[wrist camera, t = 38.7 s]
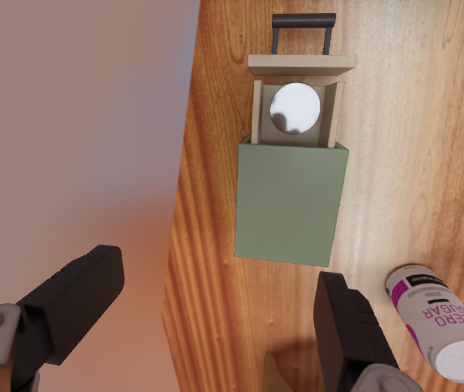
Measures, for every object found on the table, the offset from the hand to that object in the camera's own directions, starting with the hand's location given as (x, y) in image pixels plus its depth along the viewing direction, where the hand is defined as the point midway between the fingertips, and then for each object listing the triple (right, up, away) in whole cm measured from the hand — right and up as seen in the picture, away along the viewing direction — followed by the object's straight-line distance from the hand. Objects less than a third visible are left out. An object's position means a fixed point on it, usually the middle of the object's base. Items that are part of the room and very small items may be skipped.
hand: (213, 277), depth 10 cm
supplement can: (+32, -12, +35) cm, 49 cm away
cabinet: (+9, +5, +33) cm, 35 cm away
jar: (+9, +16, +27) cm, 33 cm away
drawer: (+10, +17, +28) cm, 34 cm away
